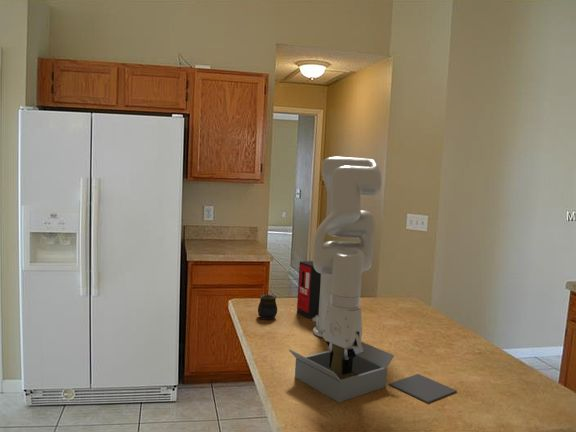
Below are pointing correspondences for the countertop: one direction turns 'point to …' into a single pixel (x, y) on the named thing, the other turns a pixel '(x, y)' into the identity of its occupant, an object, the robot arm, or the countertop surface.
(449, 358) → the countertop surface
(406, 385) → the rubber mat
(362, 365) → the carton
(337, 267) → the robot arm
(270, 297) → the mate gourd
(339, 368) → the cork
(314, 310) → the cleaning product box
